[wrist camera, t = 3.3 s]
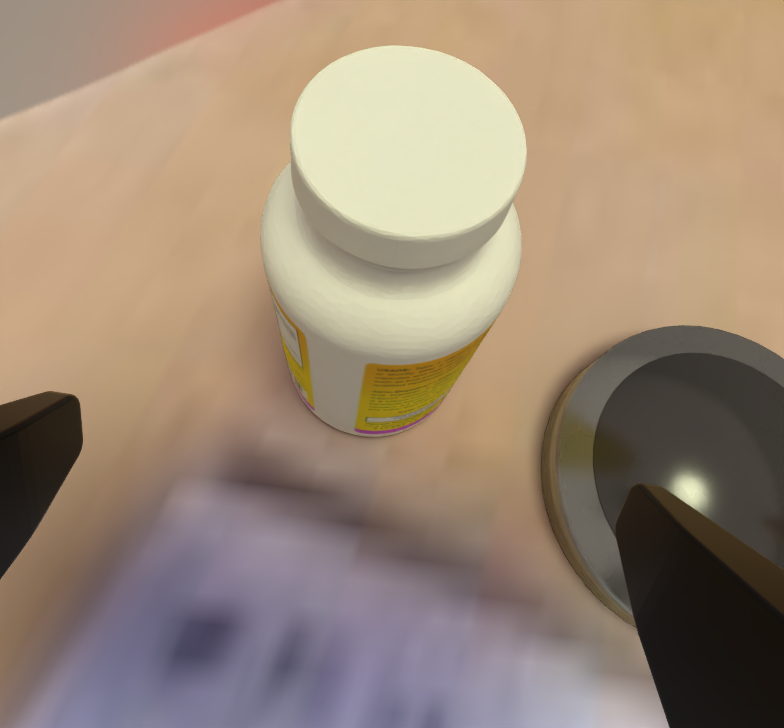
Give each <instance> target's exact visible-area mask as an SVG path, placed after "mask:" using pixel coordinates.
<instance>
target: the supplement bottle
mask: <svg viewBox="0 0 784 728" xmlns="http://www.w3.org/2000/svg"><path fill="white" fill-rule="evenodd" d="M290 150H291V161H290V162H289V164H288V165H287V166H286V167H285V168H284V169H283V171H282V172H281V174H280V175H279V176H278V178H277V179H276V181H275V183H274V184H273V186H272V188H271V191H270V193H269V196H268V198H267V201H266V204H265V207H264V211H263V215H262V223H261V237H260V240H261V252H262V258H263V263H264V268H265V273H266V277H267V280H268V284H269V288H270V292H271V296H272V300H273V304H274V308H275V312H276V316H277V321H278V325H279V330H280V334H281V338H282V342H283V347H284V351H285V356H286V359H287V364H288V367H289V371H290V375H291V377H292V380H293V383H294V385H295V388H296V390H297V392H298V394H299V395H300V397H301V398H302V400H303V401H304V403H305V404H306V405H307V406H308V408H309V409H310V410H311V411H312V412H313V413H314V414H315V415H316V416H318V417H319V418H320V419H321V420H322V421H324V422H325V423H327V424H329V425H331V426H332V427H334V428H336V429H338V430H341V431H344V432H347V433H350V434H354V435H359V436H366V437H380V436H388V435H393V434H397V433H400V432H403V431H406V430H408V429H410V428H412V427H414V426H416V425H417V424H419V423H421V422H422V421H423V420H425V419H426V418H427V417H429V416H430V415H431V414H432V413H433V412H434V411H435V410H436V409H437V408H438V406H439V405H440V404H441V402H442V401H443V400H444V398H445V397H446V395H447V394H448V393H449V391H450V390H451V388H452V386H453V385H454V383H455V382H456V380H457V379H458V377H459V376H460V374H461V373H462V371H463V370H464V368H465V367H466V365H467V364H468V362H469V361H470V359H471V357H472V356H473V354H474V353H475V351H476V350H477V348H478V347H479V345H480V343H481V342H482V340H483V339H484V337H485V336H486V334H487V333H488V331H489V330H490V328H491V327H492V325H493V324H494V322H495V321H496V319H497V318H498V316H499V314H500V313H501V311H502V309H503V307H504V305H505V304H506V302H507V300H508V298H509V296H510V294H511V292H512V289H513V287H514V284H515V281H516V278H517V275H518V271H519V266H520V261H521V247H522V246H521V232H520V225H519V220H518V216H517V213H516V210H515V207H514V205H513V201H514V198H515V196H516V194H517V192H518V189H519V187H520V185H521V182H522V179H523V175H524V171H525V166H526V156H527V150H526V140H525V133H524V130H523V126H522V123H521V120H520V118H519V116H518V114H517V112H516V110H515V108H514V106H513V105H512V103H511V102H510V100H509V99H508V98H507V96H506V95H505V94H504V93H503V92H502V90H501V89H500V88H499V87H498V86H497V85H496V84H495V83H494V82H493V81H491V80H490V79H489V78H488V77H487V76H485V75H484V74H483V73H482V72H480V71H479V70H478V69H476V68H474V67H473V66H471V65H469V64H468V63H466V62H464V61H462V60H460V59H457V58H455V57H453V56H450V55H448V54H445V53H442V52H439V51H435V50H429V49H424V48H419V47H411V46H393V45H391V46H380V47H374V48H369V49H365V50H361V51H357V52H355V53H352V54H350V55H347V56H345V57H343V58H340V59H338V60H337V61H335V62H333V63H331V64H329V65H328V66H327V67H325V68H324V69H323V70H322V71H320V72H319V73H318V74H317V75H316V76H315V77H314V78H313V79H312V80H311V81H310V82H309V83H308V85H307V86H306V87H305V89H304V90H303V92H302V94H301V95H300V97H299V99H298V101H297V104H296V106H295V108H294V111H293V115H292V120H291V126H290Z"/></svg>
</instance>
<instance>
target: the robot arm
mask: <svg viewBox="0 0 784 728" xmlns="http://www.w3.org/2000/svg"><path fill="white" fill-rule="evenodd" d="M82 444H83V433H82V421H81V410H80V402H79V400H78V398H77V397H76V396H75V395H72V394H66V393H60V392H53V391H47V392H43V393H40V394H36V395H33V396H30V397H26V398H23V399H19V400H16V401H13V402H9V403H6V404H2V405H0V579H1V578H2V576H3V575H4V574H5V572H6V571H7V569H8V568H9V567H10V565H11V564H12V563H13V561H14V560H15V559H16V557H17V556H18V555H19V553H20V552H21V550H22V549H23V548H24V546H25V545H26V543H27V542H28V540H29V539H30V538H31V536H32V535H33V533H34V532H35V530H36V528H37V527H38V525H39V523H40V522H41V520H42V518H43V517H44V515H45V513H46V511H47V510H48V508H49V506H50V505H51V503H52V501H53V499H54V498H55V496H56V494H57V492H58V491H59V489H60V487H61V485H62V484H63V482H64V480H65V479H66V477H67V475H68V473H69V472H70V470H71V468H72V466H73V465H74V463H75V461H76V459H77V458H78V456H79V454H80V452H81V449H82ZM615 536H616V541H617V545H618V550H619V554H620V559H621V564H622V568H623V573H624V577H625V582H626V587H627V591H628V596H629V600H630V605H631V609H632V613H633V617H634V621H635V624H636V628H637V631H638V634H639V637H640V640H641V643H642V646H643V649H644V652H645V655H646V658H647V661H648V664H649V667H650V670H651V673H652V676H653V679H654V682H655V685H656V688H657V691H658V694H659V697H660V700H661V703H662V706H663V709H664V712H665V715H666V718H667V721H668V724H669V727H670V728H784V570H783V569H782V568H780V567H779V566H777V565H776V564H775V563H773V562H772V561H770V560H769V559H767V558H766V557H764V556H763V555H761V554H760V553H758V552H757V551H756V550H754V549H753V548H751V547H750V546H748V545H747V544H745V543H744V542H742V541H741V540H739V539H738V538H737V537H735V536H734V535H732V534H731V533H729V532H728V531H726V530H725V529H723V528H722V527H720V526H719V525H718V524H716V523H715V522H713V521H712V520H710V519H709V518H707V517H706V516H704V515H703V514H701V513H700V512H699V511H697V510H696V509H694V508H693V507H691V506H690V505H688V504H687V503H685V502H684V501H682V500H681V499H680V498H678V497H677V496H675V495H674V494H672V493H671V492H669V491H668V490H666V489H665V488H663V487H661V486H658V485H652V484H645V483H636V484H634V485H633V486H632V487H631V489H630V491H629V493H628V495H627V498H626V500H625V502H624V504H623V507H622V509H621V511H620V514H619V516H618V518H617V521H616V525H615Z"/></svg>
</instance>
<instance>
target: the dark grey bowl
mask: <svg viewBox="0 0 784 728" xmlns="http://www.w3.org/2000/svg"><path fill="white" fill-rule="evenodd" d="M541 475H542V488H543V494H544V499H545V504H546V509H547V513H548V516H549V519H550V522H551V525H552V528H553V531H554V533H555V535H556V537H557V540H558V542H559V544H560V546H561V548H562V550H563V552H564V554H565V555H566V557H567V559H568V560H569V562H570V564H571V565H572V567H573V569H574V570H575V572H576V573H577V574H578V575H579V577H580V578H581V579H582V581H583V582H584V583H585V584H586V586H587V587H588V588H589V589H590V590H591V591H592V592H593V593H594V594H595V595H596V596H597V597H598V598H599V599H600V601H601V602H602V603H603V604H604V605H605V606H607V607H608V608H609V609H610V610H612V611H613V612H614V613H616V614H617V615H618V616H619V617H621V618H622V619H623V620H625V621H626V622H628V623H629V624H631V625H633V626H634V627H636V624H635V621H634V617H633V613H632V609H631V605H630V600H629V596H628V591H627V587H626V582H625V577H624V573H623V568H622V564H621V559H620V554H619V550H618V545H617V541H616V536H615V525H616V521H617V518H618V516H619V514H620V511H621V509H622V507H623V504H624V502H625V500H626V498H627V495H628V493H629V491H630V489H631V487H632V486H633V485H634V484H636V483H645V484H652V485H658V486H661V487H663V488H665V489H666V490H668V491H669V492H671V493H672V494H674V495H675V496H677V497H678V498H680V499H681V500H682V501H684V502H685V503H687V504H688V505H690V506H691V507H693V508H694V509H696V510H697V511H699V512H700V513H701V514H703V515H704V516H706V517H707V518H709V519H710V520H712V521H713V522H715V523H716V524H718V525H719V526H720V527H722V528H723V529H725V530H726V531H728V532H729V533H731V534H732V535H734V536H735V537H737V538H738V539H739V540H741V541H742V542H744V543H745V544H747V545H748V546H750V547H751V548H753V549H754V550H756V551H757V552H758V553H760V554H761V555H763V556H764V557H766V558H767V559H769V560H770V561H772V562H773V563H775V564H776V565H777V566H779V567H780V568H782V569H783V570H784V359H783V358H781V357H780V356H779V355H777V354H776V353H774V352H772V351H771V350H769V349H767V348H765V347H763V346H761V345H760V344H758V343H756V342H753V341H751V340H749V339H746V338H744V337H742V336H739V335H736V334H733V333H729V332H726V331H723V330H719V329H713V328H708V327H702V326H684V325H681V326H669V327H662V328H657V329H652V330H648V331H645V332H642V333H640V334H637V335H634V336H632V337H630V338H628V339H626V340H624V341H622V342H621V343H619V344H617V345H615V346H614V347H613V348H611V349H610V350H609V351H607V352H606V353H605V354H603V355H602V356H601V357H599V358H598V359H597V360H596V361H594V362H593V363H592V364H590V365H589V366H588V367H587V368H585V369H584V370H583V371H581V372H580V373H579V374H578V375H577V376H576V377H575V378H574V379H573V380H572V382H571V383H570V384H569V385H568V386H567V388H566V389H565V391H564V392H563V393H562V395H561V396H560V398H559V399H558V401H557V403H556V405H555V407H554V409H553V411H552V413H551V416H550V419H549V422H548V425H547V428H546V431H545V436H544V442H543V447H542V461H541Z"/></svg>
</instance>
